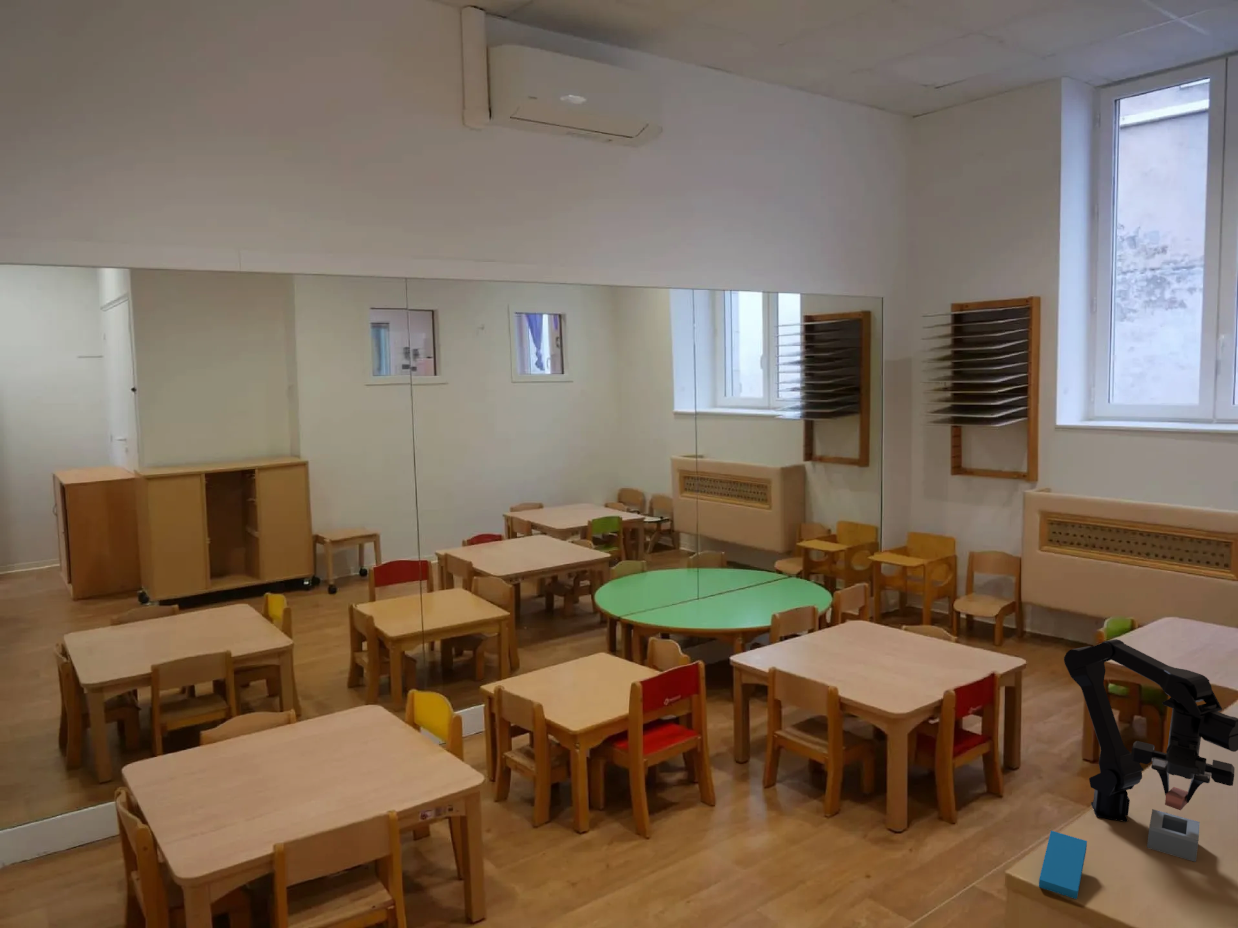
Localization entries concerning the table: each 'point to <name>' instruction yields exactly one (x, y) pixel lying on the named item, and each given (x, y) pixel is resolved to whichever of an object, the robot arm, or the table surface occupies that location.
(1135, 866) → the table surface
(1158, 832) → the posting box
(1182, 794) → the pink rectangular block
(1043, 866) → the blue rectangular box
